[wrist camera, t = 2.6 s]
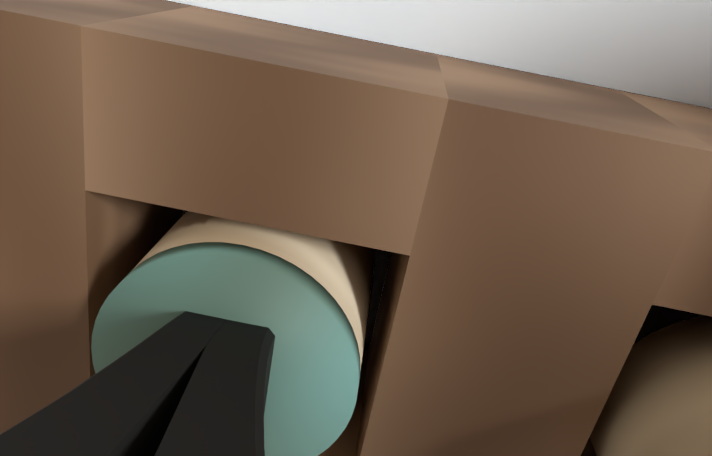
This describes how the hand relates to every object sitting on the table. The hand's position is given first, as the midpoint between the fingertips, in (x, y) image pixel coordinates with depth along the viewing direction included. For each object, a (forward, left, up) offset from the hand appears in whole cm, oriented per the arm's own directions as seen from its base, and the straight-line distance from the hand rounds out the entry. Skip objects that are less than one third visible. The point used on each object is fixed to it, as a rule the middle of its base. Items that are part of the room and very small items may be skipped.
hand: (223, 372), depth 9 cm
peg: (0, 0, -4) cm, 4 cm away
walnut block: (-4, 0, -4) cm, 6 cm away
